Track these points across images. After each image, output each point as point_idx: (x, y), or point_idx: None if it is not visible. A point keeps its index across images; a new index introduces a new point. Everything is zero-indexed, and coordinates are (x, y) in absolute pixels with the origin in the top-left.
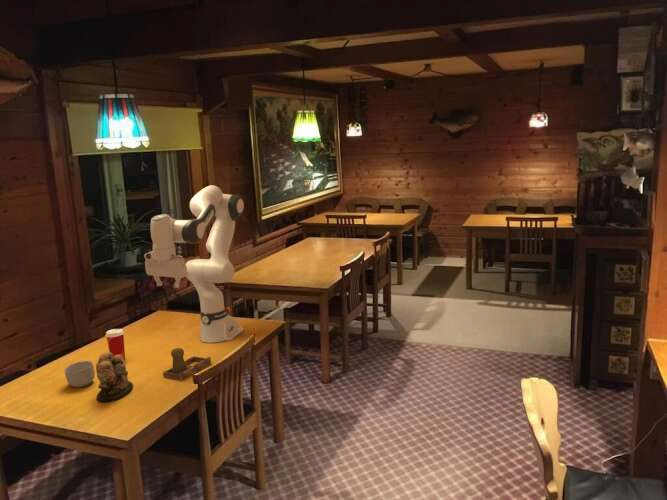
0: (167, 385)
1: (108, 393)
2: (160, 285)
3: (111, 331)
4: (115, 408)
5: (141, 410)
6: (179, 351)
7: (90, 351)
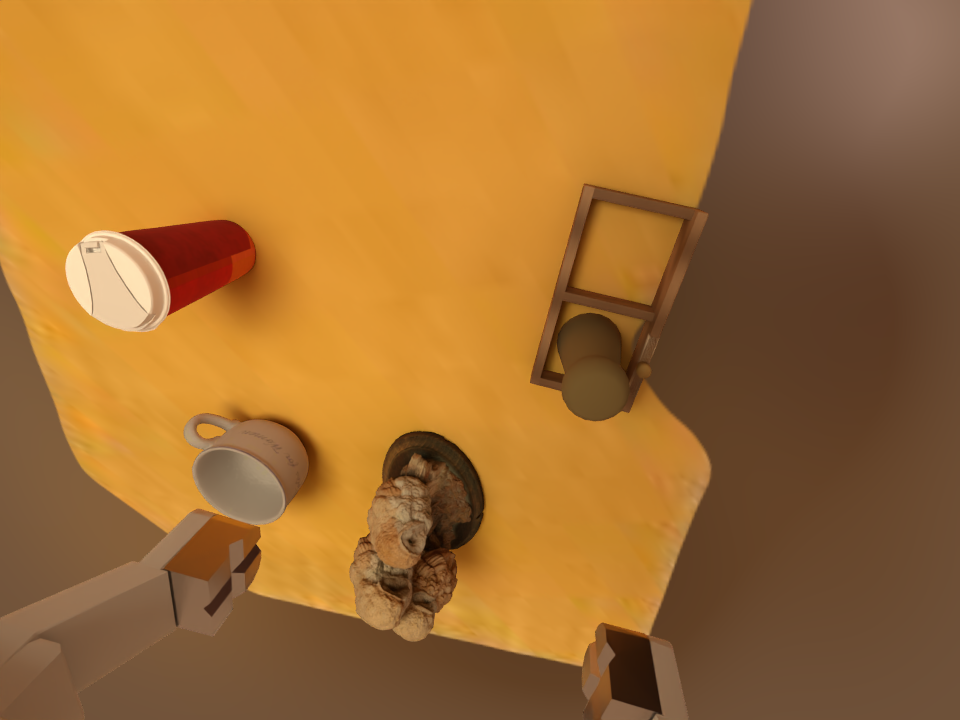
0: (587, 435)
1: (448, 549)
2: (254, 560)
3: (96, 292)
4: (504, 567)
5: (591, 576)
6: (618, 412)
7: (15, 161)
